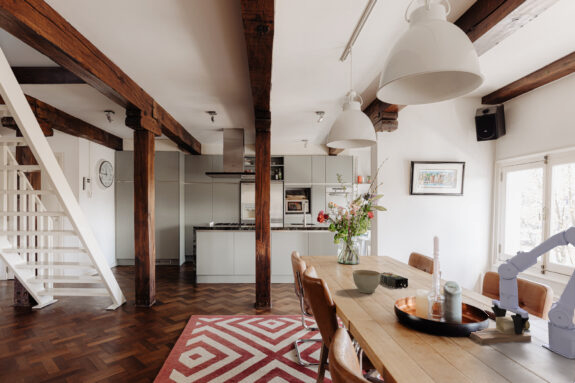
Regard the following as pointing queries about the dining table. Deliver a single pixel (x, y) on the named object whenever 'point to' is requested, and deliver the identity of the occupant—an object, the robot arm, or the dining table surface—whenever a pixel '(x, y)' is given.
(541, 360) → the dining table surface
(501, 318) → the pale gold block
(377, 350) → the dining table surface
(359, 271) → the planter bowl
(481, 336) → the walnut board
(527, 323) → the gavel
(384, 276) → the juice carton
